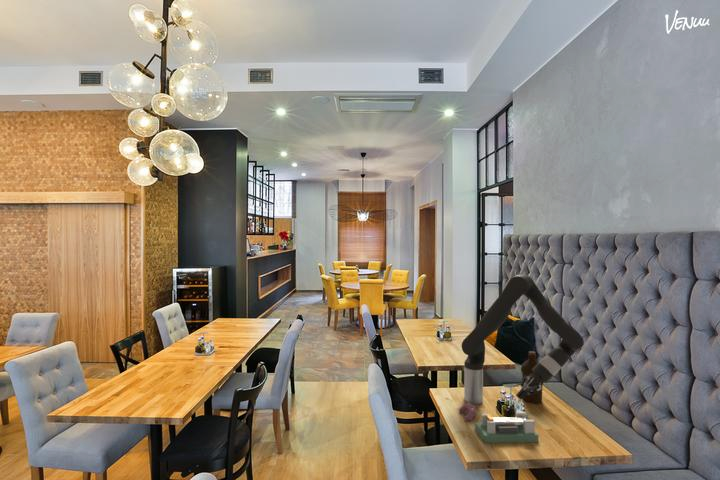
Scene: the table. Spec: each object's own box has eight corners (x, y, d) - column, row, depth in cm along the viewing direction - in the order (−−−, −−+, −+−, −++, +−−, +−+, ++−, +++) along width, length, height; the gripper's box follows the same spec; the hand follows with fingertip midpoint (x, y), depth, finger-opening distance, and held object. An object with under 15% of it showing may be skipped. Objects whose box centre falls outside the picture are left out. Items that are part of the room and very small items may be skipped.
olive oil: (544, 398, 193) (544, 351, 194) (541, 406, 185) (541, 356, 185) (523, 393, 200) (523, 347, 200) (518, 400, 191) (519, 352, 191)
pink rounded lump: (472, 425, 168) (479, 411, 169) (463, 420, 168) (470, 406, 168) (466, 414, 178) (472, 401, 178) (457, 410, 178) (464, 397, 178)
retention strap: (485, 420, 159) (486, 414, 159) (524, 420, 159) (524, 414, 159) (490, 425, 154) (490, 419, 154) (529, 426, 155) (529, 420, 155)
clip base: (475, 429, 162) (475, 411, 162) (525, 428, 163) (525, 410, 163) (484, 442, 151) (484, 423, 151) (538, 442, 152) (538, 422, 152)
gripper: (532, 357, 164) (505, 385, 163) (548, 368, 151) (519, 398, 150) (544, 369, 164) (517, 397, 163) (561, 380, 151) (532, 411, 150)
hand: (518, 397), depth 157 cm, fingers closed
